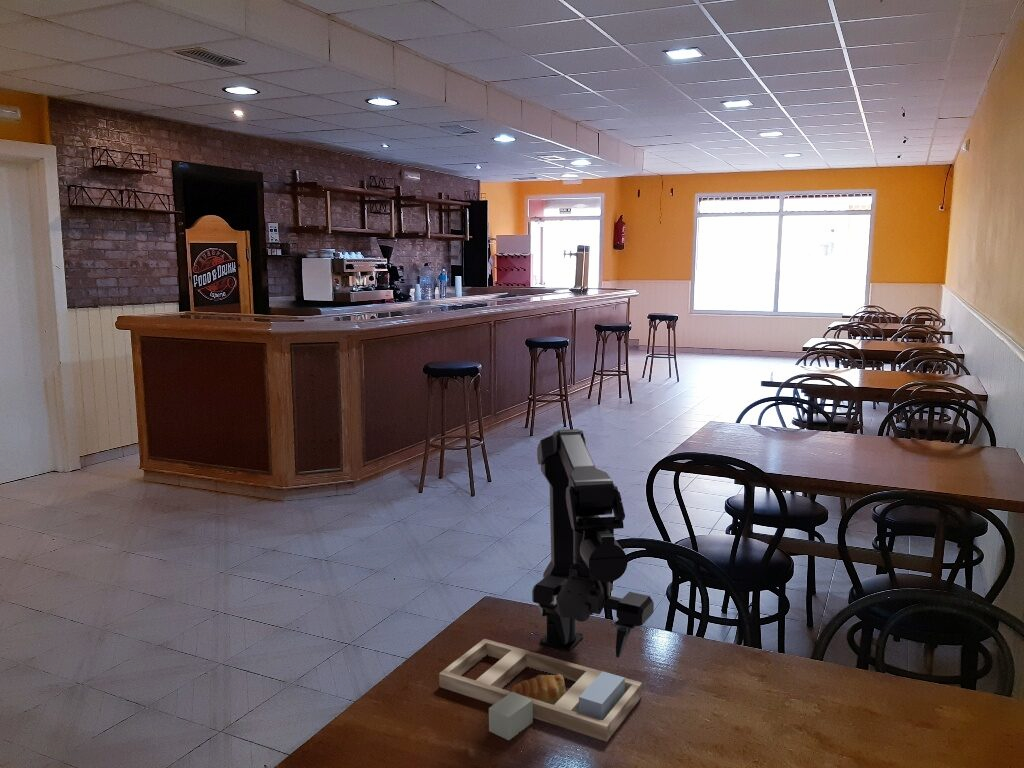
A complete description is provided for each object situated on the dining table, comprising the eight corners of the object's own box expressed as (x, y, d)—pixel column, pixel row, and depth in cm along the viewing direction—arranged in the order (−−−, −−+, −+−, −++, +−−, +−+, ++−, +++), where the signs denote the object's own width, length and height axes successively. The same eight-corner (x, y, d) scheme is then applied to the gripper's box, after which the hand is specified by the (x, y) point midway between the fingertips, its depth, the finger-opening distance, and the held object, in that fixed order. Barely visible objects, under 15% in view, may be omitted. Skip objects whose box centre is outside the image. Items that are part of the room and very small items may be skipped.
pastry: (513, 712, 128) (512, 690, 127) (508, 690, 134) (508, 669, 134) (569, 708, 129) (569, 686, 128) (562, 686, 135) (562, 665, 135)
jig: (484, 650, 147) (484, 638, 147) (641, 696, 131) (642, 682, 131) (439, 686, 135) (439, 673, 135) (606, 741, 119) (606, 726, 119)
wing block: (602, 696, 132) (602, 671, 131) (624, 702, 130) (624, 677, 129) (578, 723, 124) (578, 696, 124) (601, 730, 122) (601, 704, 122)
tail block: (513, 714, 127) (512, 691, 126) (532, 723, 124) (532, 700, 124) (489, 731, 122) (488, 708, 122) (508, 741, 120) (508, 717, 119)
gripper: (514, 563, 120) (515, 658, 123) (628, 586, 111) (627, 688, 113) (547, 540, 130) (548, 628, 132) (655, 560, 121) (654, 655, 123)
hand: (591, 649), depth 125 cm, fingers open, 9 cm apart
